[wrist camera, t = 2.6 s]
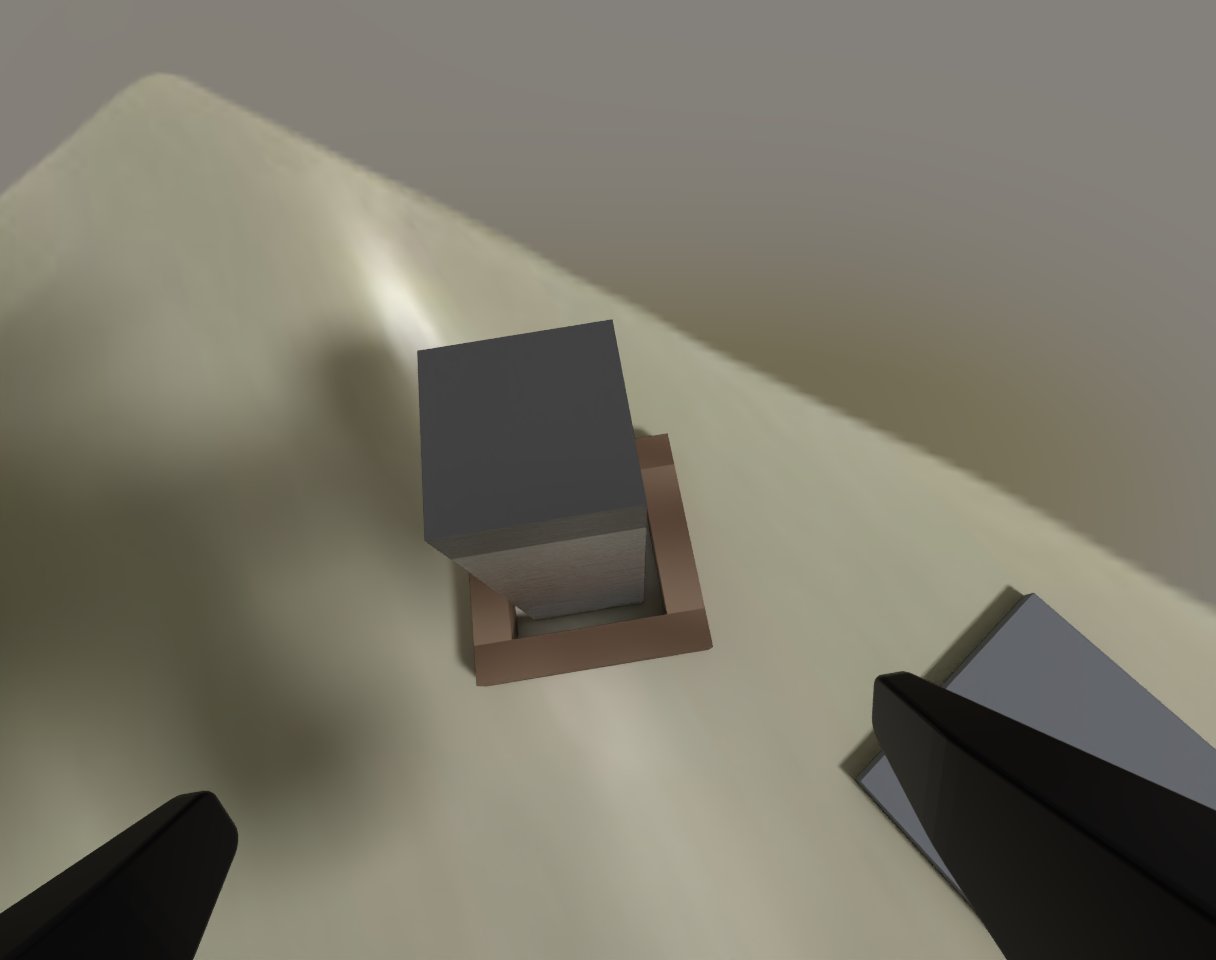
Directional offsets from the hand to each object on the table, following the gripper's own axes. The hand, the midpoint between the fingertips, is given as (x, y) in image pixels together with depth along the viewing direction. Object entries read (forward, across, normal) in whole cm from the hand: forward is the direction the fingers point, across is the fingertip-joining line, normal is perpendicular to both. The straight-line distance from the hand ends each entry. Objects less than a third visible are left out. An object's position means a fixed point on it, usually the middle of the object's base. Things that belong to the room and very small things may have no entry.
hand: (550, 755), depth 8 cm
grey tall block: (+13, 0, -5) cm, 14 cm away
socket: (+13, 0, -5) cm, 14 cm away
